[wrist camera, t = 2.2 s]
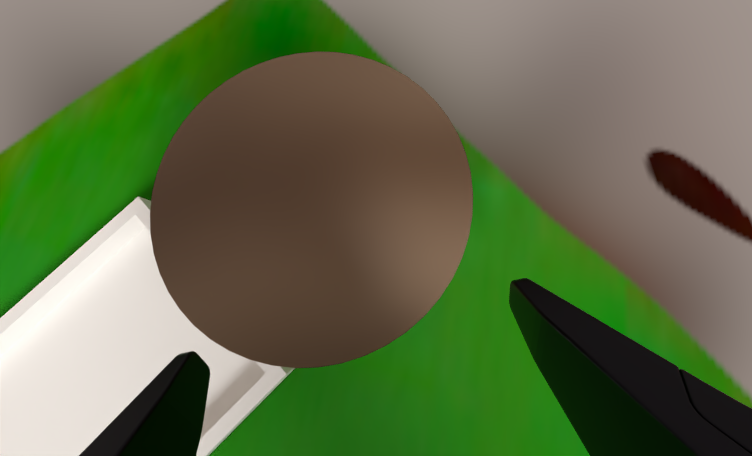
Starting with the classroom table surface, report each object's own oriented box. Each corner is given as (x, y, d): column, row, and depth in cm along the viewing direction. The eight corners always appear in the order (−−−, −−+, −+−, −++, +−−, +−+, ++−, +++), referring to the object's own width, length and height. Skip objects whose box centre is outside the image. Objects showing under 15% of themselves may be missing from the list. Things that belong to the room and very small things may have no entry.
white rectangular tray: (162, 205, 21) (138, 196, 19) (298, 364, 18) (286, 374, 16) (-89, 430, 19) (-145, 446, 17) (22, 643, 16) (-29, 691, 14)
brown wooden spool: (439, 288, 18) (533, 287, 6) (334, 330, 18) (192, 424, 6) (396, 189, 20) (396, 10, 7) (299, 227, 20) (122, 116, 7)
